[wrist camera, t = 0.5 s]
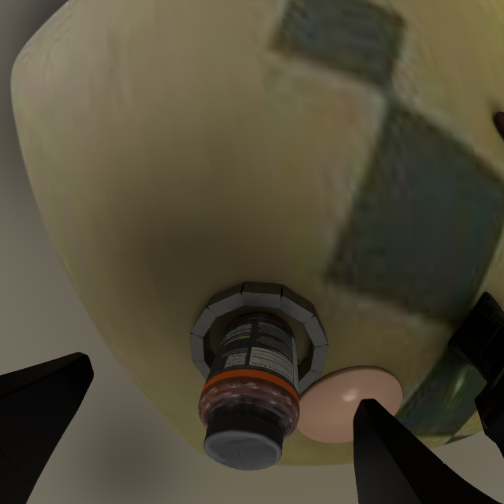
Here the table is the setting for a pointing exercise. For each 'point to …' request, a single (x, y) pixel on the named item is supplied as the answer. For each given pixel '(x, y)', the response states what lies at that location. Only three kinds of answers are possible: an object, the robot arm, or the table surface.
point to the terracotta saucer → (344, 401)
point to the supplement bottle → (251, 393)
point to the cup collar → (262, 298)
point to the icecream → (500, 120)
